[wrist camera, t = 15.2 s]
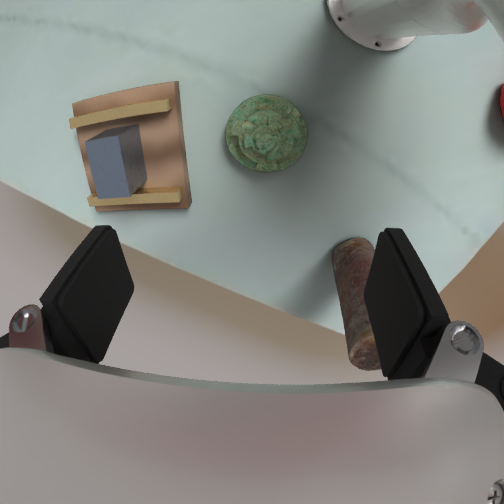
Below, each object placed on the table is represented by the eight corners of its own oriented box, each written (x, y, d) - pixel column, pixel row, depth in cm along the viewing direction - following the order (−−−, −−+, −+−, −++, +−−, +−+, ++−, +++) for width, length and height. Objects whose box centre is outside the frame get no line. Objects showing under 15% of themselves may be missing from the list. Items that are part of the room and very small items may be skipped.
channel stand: (79, 101, 33) (64, 106, 30) (178, 80, 32) (168, 83, 29) (102, 205, 44) (90, 217, 41) (191, 201, 43) (184, 215, 40)
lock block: (107, 129, 34) (84, 141, 29) (138, 123, 34) (117, 135, 29) (117, 180, 39) (98, 199, 34) (147, 178, 39) (130, 196, 34)
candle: (337, 276, 50) (357, 377, 34) (322, 246, 46) (341, 351, 30) (378, 260, 47) (413, 358, 31) (366, 227, 43) (406, 328, 27)
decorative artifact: (315, 152, 37) (289, 83, 32) (322, 170, 32) (292, 87, 26) (246, 175, 40) (216, 111, 35) (241, 197, 34) (204, 121, 29)
